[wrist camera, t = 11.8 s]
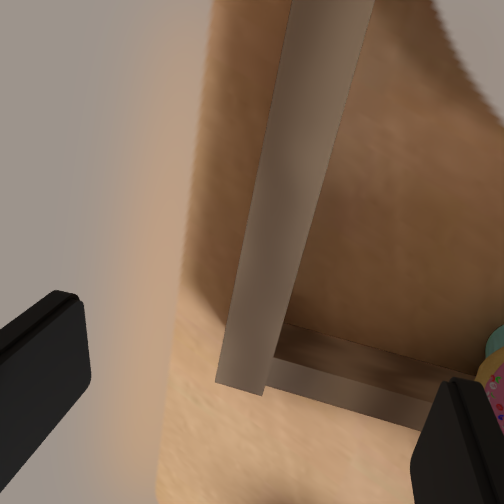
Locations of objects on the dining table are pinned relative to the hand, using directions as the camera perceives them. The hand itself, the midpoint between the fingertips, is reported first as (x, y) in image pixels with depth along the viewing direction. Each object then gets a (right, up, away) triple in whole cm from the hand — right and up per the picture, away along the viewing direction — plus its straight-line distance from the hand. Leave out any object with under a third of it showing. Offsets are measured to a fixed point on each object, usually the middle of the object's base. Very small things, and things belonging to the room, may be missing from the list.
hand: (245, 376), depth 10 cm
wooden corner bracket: (+11, +5, +14) cm, 18 cm away
